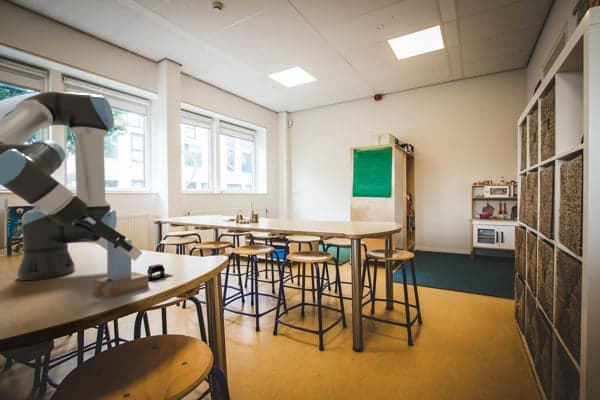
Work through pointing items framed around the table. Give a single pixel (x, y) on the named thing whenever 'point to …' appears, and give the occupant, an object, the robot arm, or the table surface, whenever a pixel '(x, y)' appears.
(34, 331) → the table surface
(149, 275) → the black piece
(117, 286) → the base block
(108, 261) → the tower block
